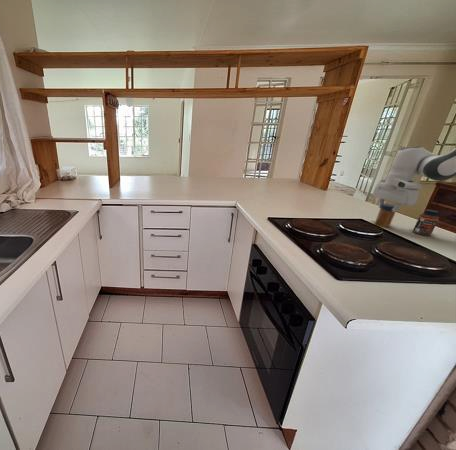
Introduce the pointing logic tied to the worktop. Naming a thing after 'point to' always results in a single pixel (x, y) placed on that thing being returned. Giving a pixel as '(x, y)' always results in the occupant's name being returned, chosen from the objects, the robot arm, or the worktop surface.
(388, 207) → the jar lid
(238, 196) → the worktop surface
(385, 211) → the jam jar
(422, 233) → the supplement bottle
